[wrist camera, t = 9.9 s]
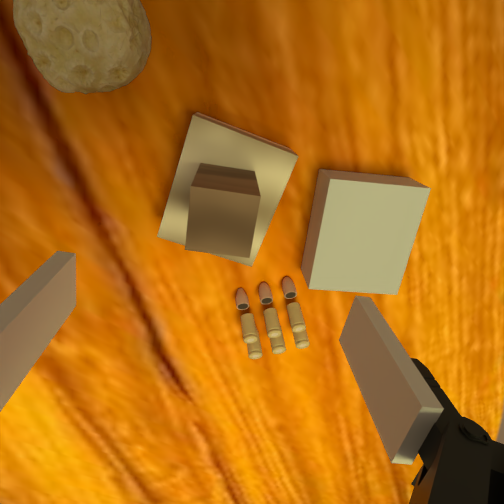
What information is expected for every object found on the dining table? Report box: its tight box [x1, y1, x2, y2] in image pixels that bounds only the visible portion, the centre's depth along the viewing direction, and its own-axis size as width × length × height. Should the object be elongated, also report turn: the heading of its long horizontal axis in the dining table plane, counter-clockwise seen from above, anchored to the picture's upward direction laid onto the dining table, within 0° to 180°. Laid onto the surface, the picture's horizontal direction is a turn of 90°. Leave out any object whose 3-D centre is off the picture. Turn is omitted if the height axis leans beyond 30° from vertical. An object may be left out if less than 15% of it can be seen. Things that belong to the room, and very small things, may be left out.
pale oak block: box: [157, 112, 298, 267], centre depth 36 cm, size 12×10×5 cm
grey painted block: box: [301, 169, 431, 295], centre depth 38 cm, size 12×10×5 cm
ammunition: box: [236, 277, 310, 359], centre depth 42 cm, size 5×7×8 cm
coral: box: [13, 0, 152, 94], centre depth 28 cm, size 9×9×8 cm
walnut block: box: [185, 163, 261, 258], centre depth 30 cm, size 5×5×8 cm
